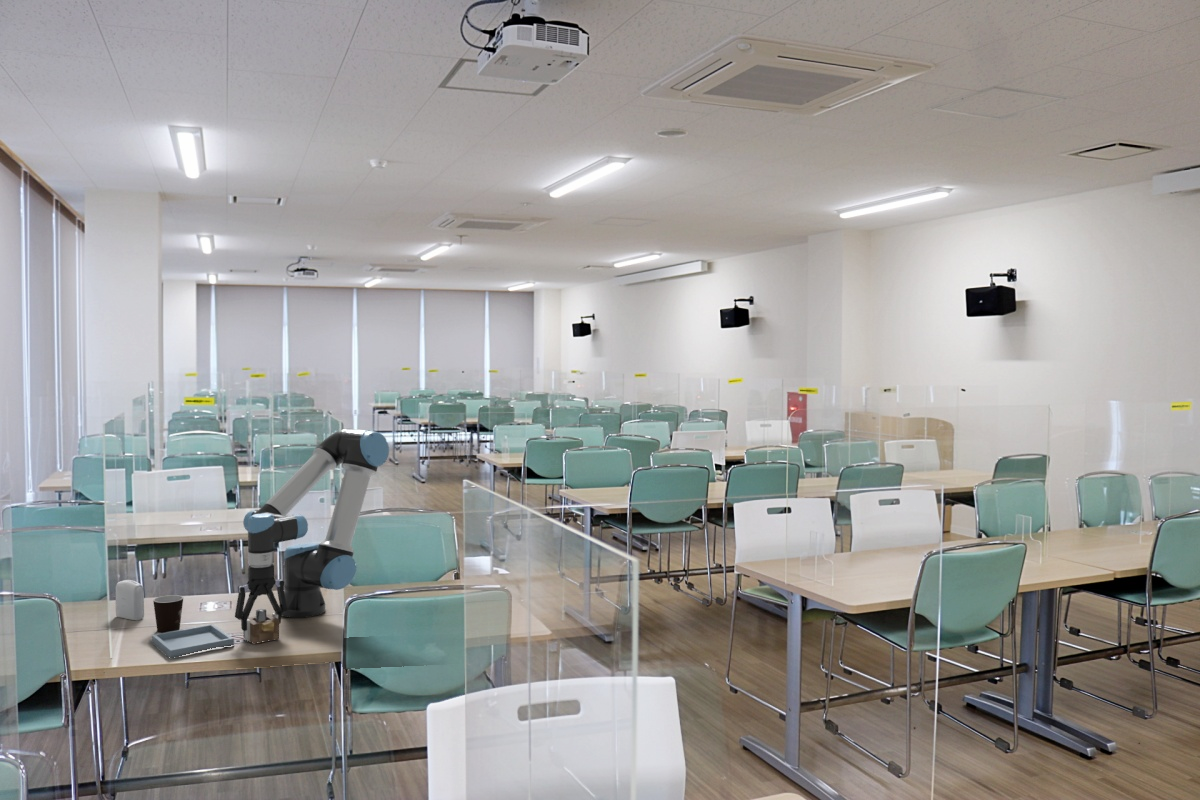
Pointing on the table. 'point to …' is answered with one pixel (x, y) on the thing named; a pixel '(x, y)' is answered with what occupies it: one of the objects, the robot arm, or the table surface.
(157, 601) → the coffee mug
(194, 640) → the tray
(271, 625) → the collar
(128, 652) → the table surface
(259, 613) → the post
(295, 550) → the robot arm
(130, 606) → the photo printer
